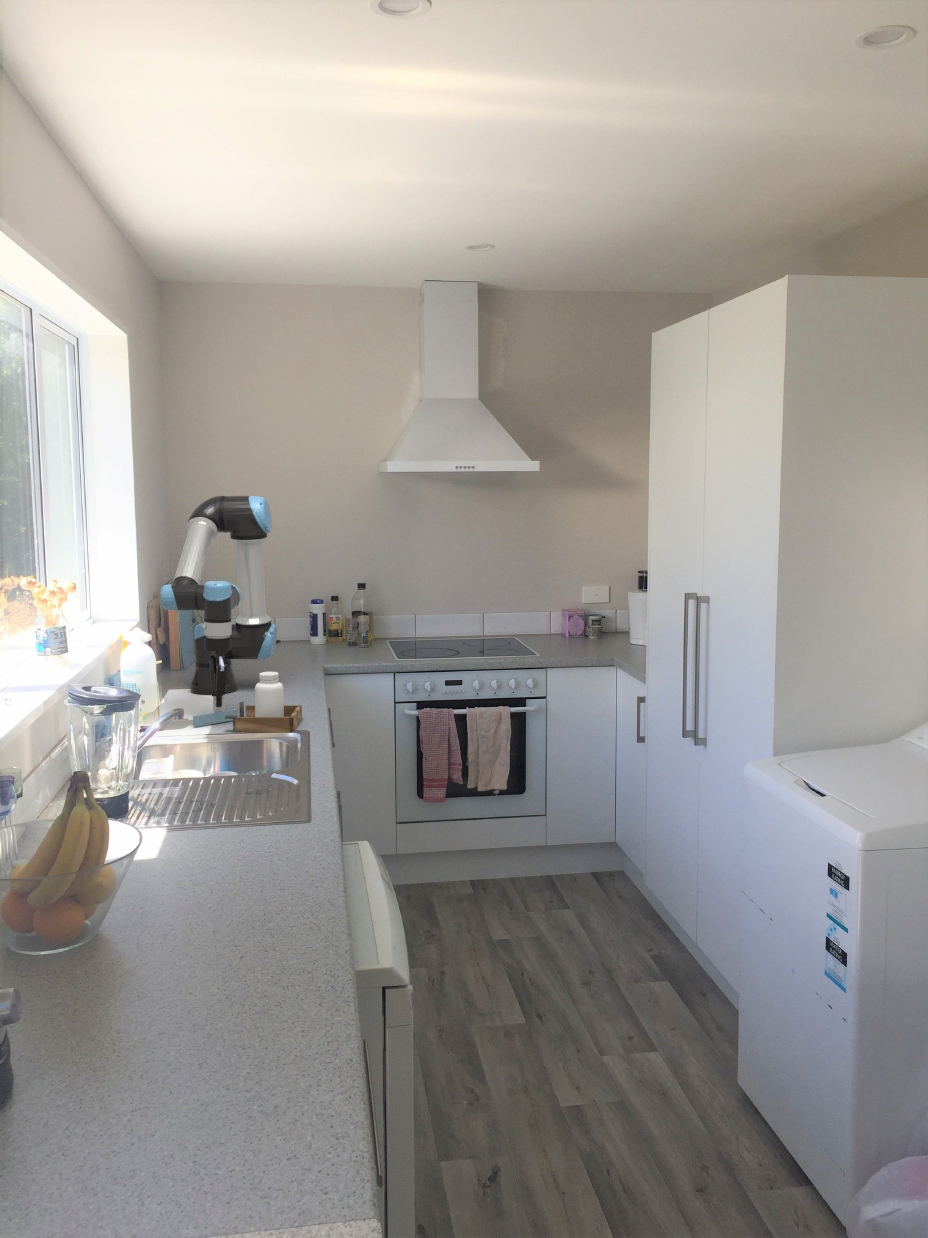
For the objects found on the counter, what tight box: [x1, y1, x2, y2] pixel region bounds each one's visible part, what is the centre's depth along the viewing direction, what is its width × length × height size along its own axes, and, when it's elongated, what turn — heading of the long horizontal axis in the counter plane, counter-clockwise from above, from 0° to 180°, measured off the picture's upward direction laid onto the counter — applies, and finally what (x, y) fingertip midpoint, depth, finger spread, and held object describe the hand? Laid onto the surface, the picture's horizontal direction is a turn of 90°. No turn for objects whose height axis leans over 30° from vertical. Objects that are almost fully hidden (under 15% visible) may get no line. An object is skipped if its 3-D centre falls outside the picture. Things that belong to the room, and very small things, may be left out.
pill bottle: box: [254, 671, 285, 717], centre depth 268 cm, size 8×8×15 cm
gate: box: [192, 708, 239, 728], centre depth 271 cm, size 14×1×3 cm, turn 133°
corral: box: [225, 701, 303, 733], centre depth 269 cm, size 16×19×5 cm
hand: (218, 717), depth 273 cm, fingers closed
